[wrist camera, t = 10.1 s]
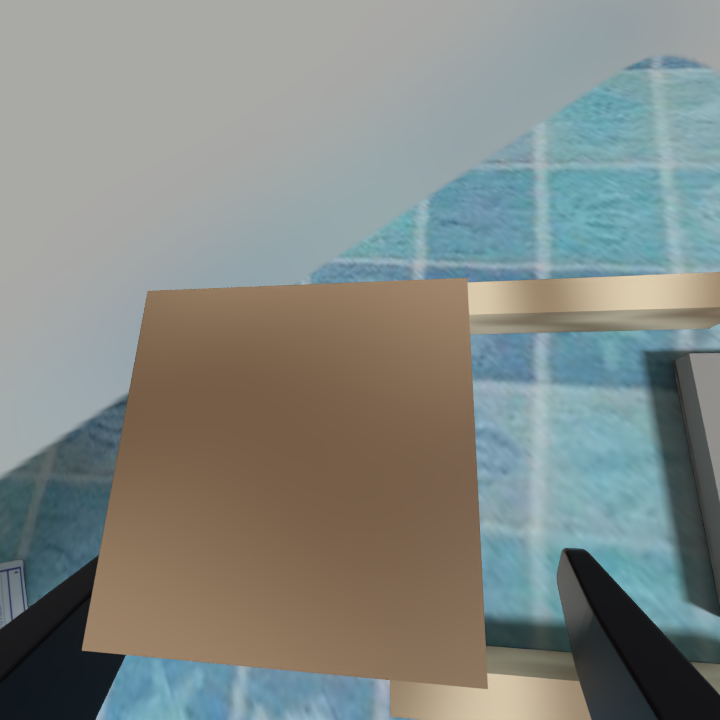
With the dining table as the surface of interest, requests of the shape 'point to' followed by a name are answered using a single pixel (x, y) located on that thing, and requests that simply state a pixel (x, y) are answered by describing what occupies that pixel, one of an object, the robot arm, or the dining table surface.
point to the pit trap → (703, 439)
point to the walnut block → (299, 485)
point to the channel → (542, 315)
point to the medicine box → (12, 591)
